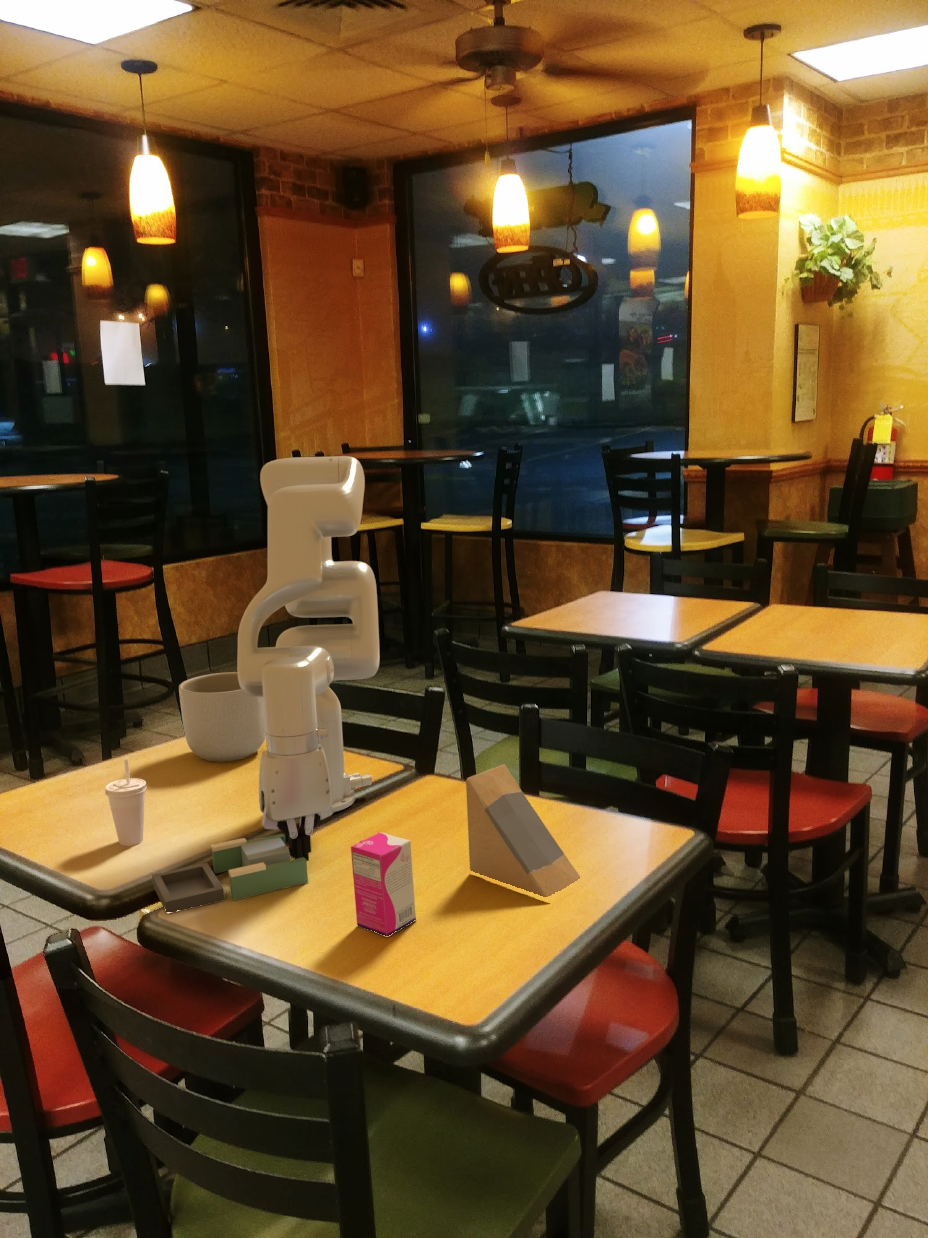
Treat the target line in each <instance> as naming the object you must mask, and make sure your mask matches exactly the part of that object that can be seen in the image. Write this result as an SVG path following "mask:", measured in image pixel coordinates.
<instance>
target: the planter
mask: <svg viewBox="0 0 928 1238" xmlns="http://www.w3.org/2000/svg"><path fill="white" fill-rule="evenodd" d="M178 692H179V703H180V709H181V719H182V725H183V731H184V737H185V741H186V744H187V746H188V747H189V749H190V750H191V752H192V753H194V754H195V755H196V756H198V757H199V758H201V759H203V760H205V761H208V762H219V763H220V762H222V763H223V762H225V763H226V762H232V761H238V760H241V759H245V758H248V757H250V756H252V755H253V754H255V753H256V752H257V751H258V750H259V749H260V748H261V747H262V745H263V744H264V743H265V741H266V729H265V715H264V702H263V697H253V696H249V695H247V694H246V693H244V692H243V690H242V689H241V687H240V685H239V681H238V671H237V672H236V671H232V672H231V671H229V672H218V673H217V672H216V673H209V674H204V675H199V676H195V677H192V678H189V679H187V680H184V681H182V682H181V683H180V684H179V685H178Z"/></svg>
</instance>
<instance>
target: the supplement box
mask: <svg viewBox="0 0 928 1238" xmlns="http://www.w3.org/2000/svg"><path fill="white" fill-rule="evenodd" d="M411 844H412V843H411V840H410V839H405V838H402V837H398V836H394V835H391V834H389V833H388V834H387V833H385V832H378V833H376V834H373V835H371V836H370V837H368V838H366V839H364V840H362V841H360V842H357V843H356V844H353V845H351V846H350V853H351V855H350V856H351V864H352V876H353V878H352V879H353V888H354V889H353V890H354V891H353V892H354V903H355V904H354V905H355V915H356V926H357V925H358V926H357V927H359V926H360V928H361V927H362V928H361V929H364V928H365V929H364V930H366V929H368V930H367V931H369V930H372V931H373V932H372V931H371V932H372V933H374V931H375V932H377V933H379V934H382V935H385V936H389V935H391V934H392V933H394V932H395V931H398V930H400V929H401V928H403V927H405V928H406V925H408V924H410V923H411V922H413V921H414V920H416V921H417V918H416V916H417V913H416V904H415V903H416V902H415V888H414V887H415V886H414V875H413V874H414V873H413V863H412V862H413V861H412V860H413V859H412V847H411ZM410 925H411V924H410ZM408 926H409V925H408ZM403 929H404V928H403ZM400 931H401V930H400ZM398 932H399V931H398ZM377 933H376V934H377ZM379 934H378V935H379Z"/></svg>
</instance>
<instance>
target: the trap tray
mask: <svg viewBox="0 0 928 1238" xmlns="http://www.w3.org/2000/svg"><path fill="white" fill-rule="evenodd" d="M151 877H152V887H153V889H154V891H155V893H156V896H157V897H158V899H159V901H160V904H161V905H162V907H163V908H164V907H165V909H166V911H165V913H166V912H174V913H177V912H176V911H177V910H182V911H185V910H184V909H187V910H190V909H189V908H191V907H195V908H199V907H201V906H200V905H203V906H207V905H211V904H216V903H219V902H223V901H225V900H226V898H225V888H224V886H223V885H222V884H221V882H220V881H219V879H218V877H217V876H216V873H215V872H214V870H212V868H211V866H210V865H209V863H208V862H203V863H199V864H194V865H190V866H185V867H181V868H176V869H173V870H172V869H171V870H168V871H163V872H158V873H155V874H151ZM198 906H199V907H198ZM165 909H164V910H165ZM191 909H192V908H191Z"/></svg>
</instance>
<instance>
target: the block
mask: <svg viewBox="0 0 928 1238" xmlns="http://www.w3.org/2000/svg"><path fill="white" fill-rule="evenodd" d="M241 855H242V867H244V866H249V865H253V864H258V863H262V862H263V863H264V864H265V865H266V866H267V865H271V864H276V863H280V862H285V861H289V860H291V856H290V852H289V848H288V847H287V845H286V846H285V844H284V842H283V841H282V839H281V838H280V837H279V838H274V839H269V840H263V841H258V842H253V843H248V844H243V845H241Z"/></svg>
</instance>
